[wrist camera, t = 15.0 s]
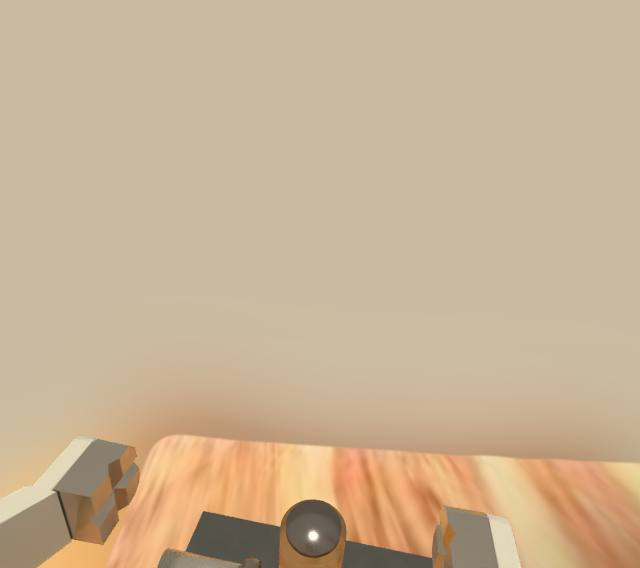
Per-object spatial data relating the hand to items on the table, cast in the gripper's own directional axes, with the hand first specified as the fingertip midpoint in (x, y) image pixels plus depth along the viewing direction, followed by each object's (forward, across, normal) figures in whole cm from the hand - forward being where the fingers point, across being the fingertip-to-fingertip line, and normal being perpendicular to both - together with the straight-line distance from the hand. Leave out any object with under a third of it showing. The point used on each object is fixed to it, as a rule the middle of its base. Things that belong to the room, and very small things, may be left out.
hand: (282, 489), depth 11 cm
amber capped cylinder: (+12, 0, +31) cm, 34 cm away
